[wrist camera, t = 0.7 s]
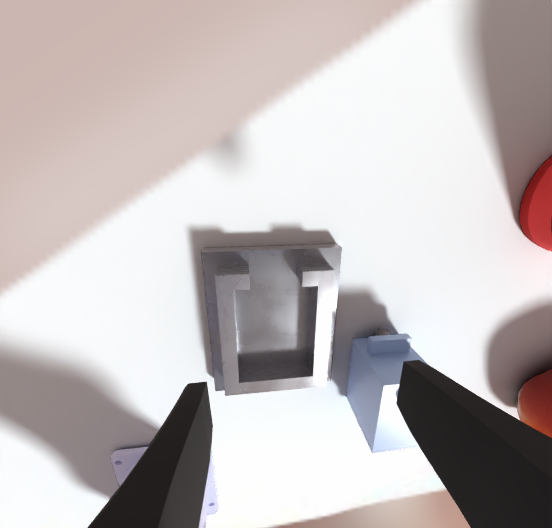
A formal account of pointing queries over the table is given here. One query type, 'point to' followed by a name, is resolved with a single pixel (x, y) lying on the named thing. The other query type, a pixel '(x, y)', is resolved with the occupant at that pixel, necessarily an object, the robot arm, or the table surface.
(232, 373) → the mount plate
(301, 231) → the table surface
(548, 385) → the tomato
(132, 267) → the table surface
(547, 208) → the canned food
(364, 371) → the servo
